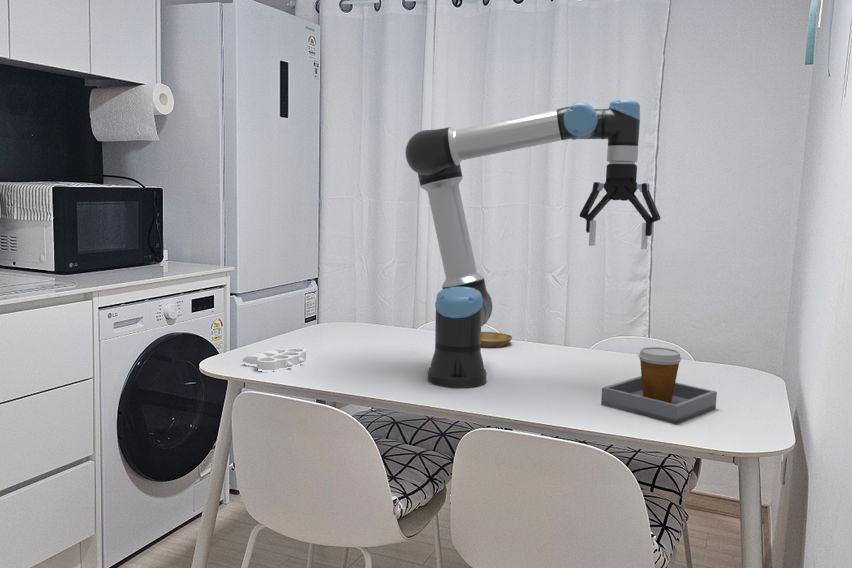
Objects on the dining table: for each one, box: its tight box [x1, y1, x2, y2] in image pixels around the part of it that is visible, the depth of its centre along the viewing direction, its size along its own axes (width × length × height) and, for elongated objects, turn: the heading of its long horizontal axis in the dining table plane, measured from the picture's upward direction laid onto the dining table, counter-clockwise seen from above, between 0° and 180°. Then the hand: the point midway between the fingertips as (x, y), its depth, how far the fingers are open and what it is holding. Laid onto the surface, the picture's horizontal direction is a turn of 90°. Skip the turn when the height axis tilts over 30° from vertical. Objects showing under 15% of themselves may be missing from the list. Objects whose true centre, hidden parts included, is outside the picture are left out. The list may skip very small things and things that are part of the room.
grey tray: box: [600, 375, 718, 425], centre depth 178 cm, size 19×18×4 cm
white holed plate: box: [242, 347, 307, 370], centre depth 211 cm, size 3×18×15 cm
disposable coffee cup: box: [637, 346, 682, 403], centre depth 178 cm, size 10×10×12 cm
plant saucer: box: [481, 331, 513, 348], centre depth 243 cm, size 15×15×3 cm
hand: (617, 247), depth 197 cm, fingers open, 13 cm apart
